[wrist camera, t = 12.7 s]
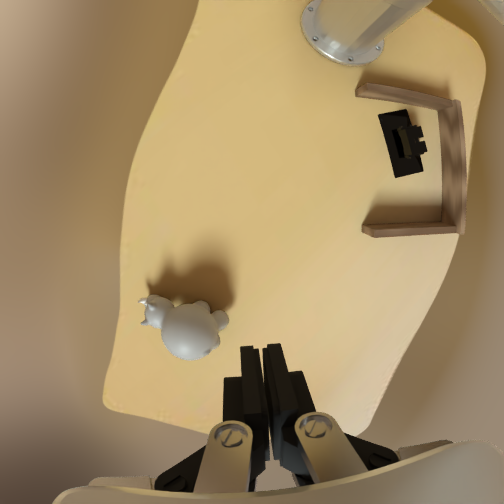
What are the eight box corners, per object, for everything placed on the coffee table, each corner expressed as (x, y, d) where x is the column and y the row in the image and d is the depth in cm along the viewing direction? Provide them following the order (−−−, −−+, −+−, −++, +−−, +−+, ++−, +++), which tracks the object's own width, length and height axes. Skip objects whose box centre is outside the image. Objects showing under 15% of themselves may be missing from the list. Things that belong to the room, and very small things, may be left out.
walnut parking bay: (354, 90, 33) (370, 80, 29) (441, 105, 34) (460, 100, 29) (361, 231, 38) (377, 239, 34) (445, 227, 39) (464, 234, 34)
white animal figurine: (168, 270, 41) (131, 278, 33) (238, 314, 38) (213, 334, 30) (152, 311, 42) (117, 325, 34) (217, 354, 40) (190, 380, 32)
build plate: (426, 178, 38) (444, 180, 33) (389, 189, 38) (406, 191, 33) (405, 100, 34) (422, 94, 30) (366, 106, 35) (381, 99, 30)
